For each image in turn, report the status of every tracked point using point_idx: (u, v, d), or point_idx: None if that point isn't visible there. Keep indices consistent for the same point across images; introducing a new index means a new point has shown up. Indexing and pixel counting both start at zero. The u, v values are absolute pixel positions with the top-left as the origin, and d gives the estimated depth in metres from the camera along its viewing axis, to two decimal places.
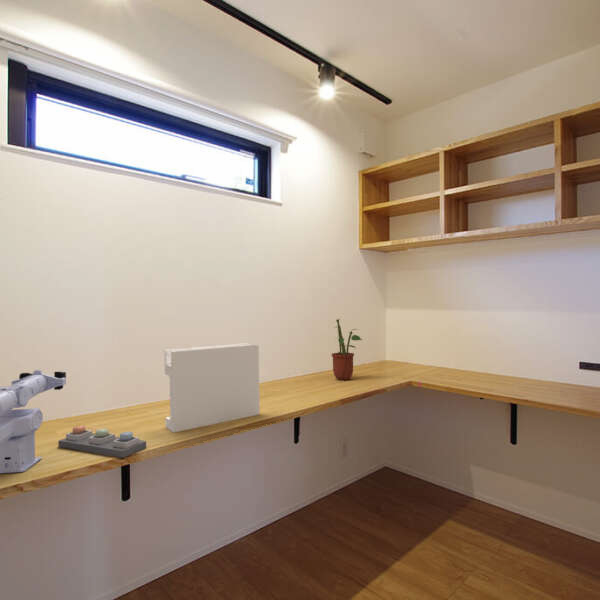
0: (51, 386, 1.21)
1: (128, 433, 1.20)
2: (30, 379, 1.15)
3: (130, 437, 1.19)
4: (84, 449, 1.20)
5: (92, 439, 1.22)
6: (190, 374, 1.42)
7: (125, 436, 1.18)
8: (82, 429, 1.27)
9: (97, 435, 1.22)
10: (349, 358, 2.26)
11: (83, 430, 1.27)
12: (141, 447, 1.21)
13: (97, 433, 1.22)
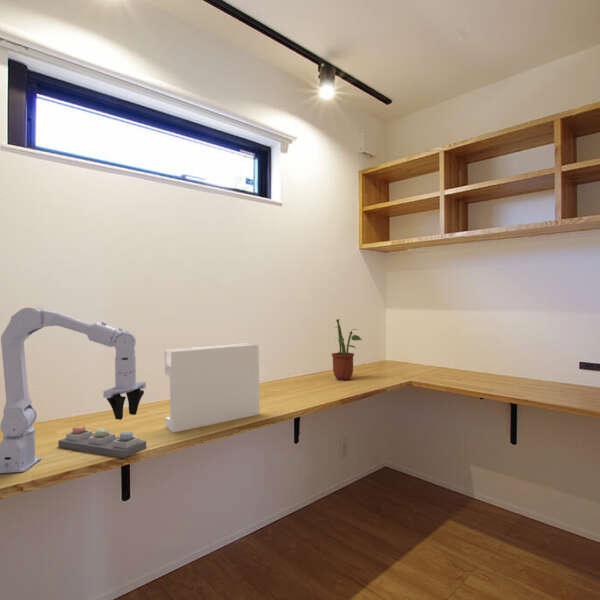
0: None
1: (128, 433, 1.20)
2: (134, 367, 1.20)
3: (130, 437, 1.19)
4: (84, 449, 1.20)
5: (92, 439, 1.22)
6: (190, 374, 1.42)
7: (125, 436, 1.18)
8: (82, 429, 1.27)
9: (97, 435, 1.22)
10: (349, 358, 2.26)
11: (83, 430, 1.27)
12: (141, 447, 1.21)
13: (97, 433, 1.22)
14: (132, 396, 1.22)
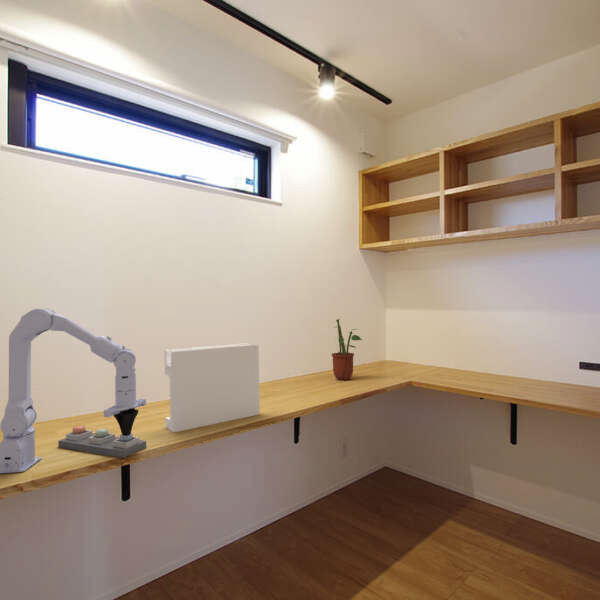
0: None
1: None
2: (135, 385, 1.20)
3: (130, 438, 1.19)
4: (84, 449, 1.20)
5: (92, 439, 1.22)
6: (190, 374, 1.42)
7: (125, 437, 1.18)
8: (82, 429, 1.27)
9: (97, 435, 1.22)
10: (349, 358, 2.26)
11: (83, 430, 1.27)
12: (141, 447, 1.21)
13: (97, 433, 1.22)
14: None
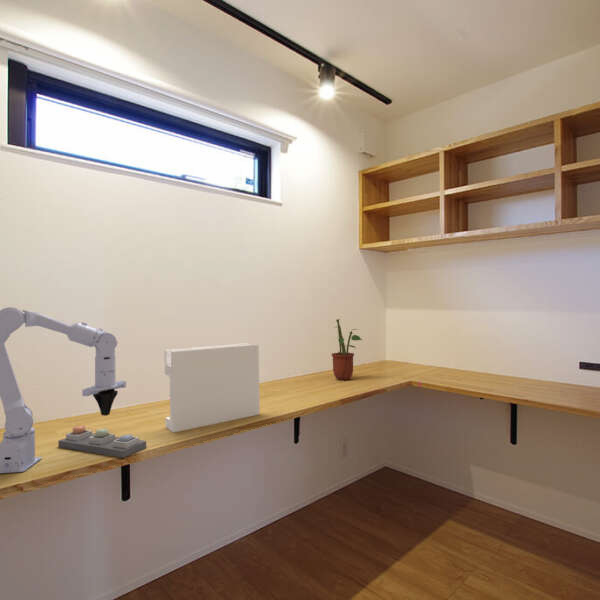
0: None
1: (128, 436, 1.20)
2: None
3: None
4: (84, 449, 1.20)
5: (92, 439, 1.22)
6: (190, 374, 1.42)
7: (125, 439, 1.18)
8: (82, 429, 1.27)
9: (97, 435, 1.22)
10: (349, 358, 2.26)
11: (83, 430, 1.27)
12: (141, 447, 1.21)
13: (97, 433, 1.22)
14: None
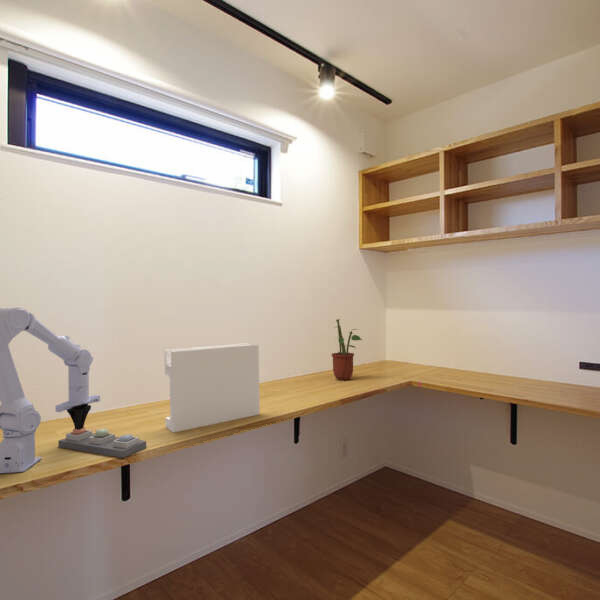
0: None
1: (128, 436, 1.20)
2: None
3: None
4: (84, 449, 1.20)
5: (92, 439, 1.22)
6: (190, 374, 1.42)
7: (125, 439, 1.18)
8: (82, 431, 1.27)
9: (97, 435, 1.22)
10: (349, 358, 2.26)
11: (83, 432, 1.27)
12: (141, 447, 1.21)
13: (97, 433, 1.22)
14: None
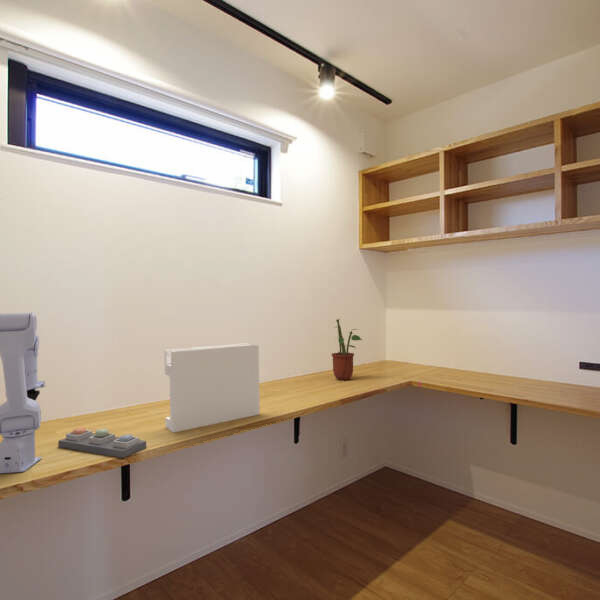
0: None
1: (128, 436, 1.20)
2: None
3: None
4: (84, 449, 1.20)
5: (92, 439, 1.22)
6: (190, 374, 1.42)
7: (125, 439, 1.18)
8: (82, 432, 1.27)
9: (97, 435, 1.22)
10: (349, 358, 2.26)
11: None
12: (141, 447, 1.21)
13: (97, 433, 1.22)
14: None
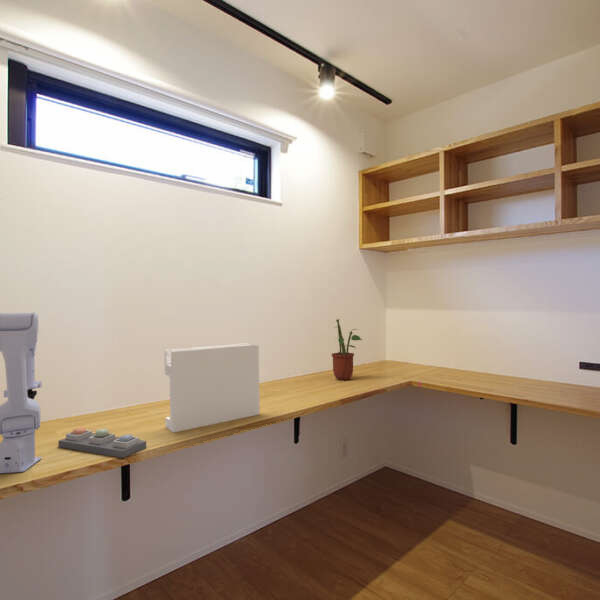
0: None
1: (128, 436, 1.20)
2: None
3: None
4: (84, 449, 1.20)
5: (92, 439, 1.22)
6: (190, 374, 1.42)
7: (125, 439, 1.18)
8: (82, 432, 1.27)
9: (97, 435, 1.22)
10: (349, 358, 2.26)
11: None
12: (141, 447, 1.21)
13: (97, 433, 1.22)
14: None
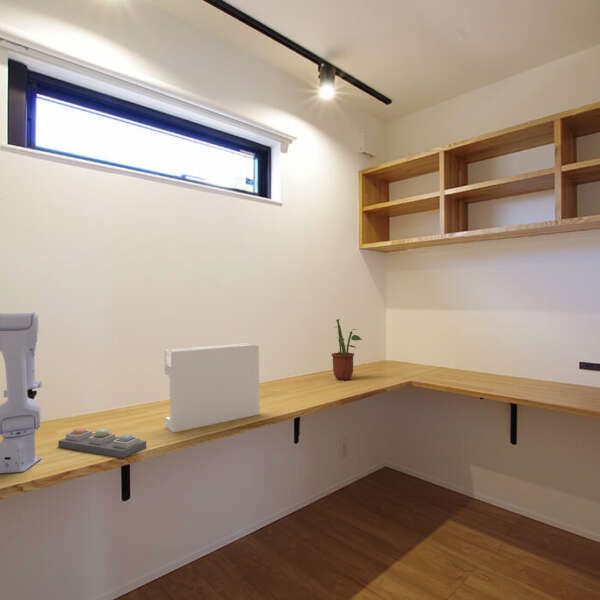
0: None
1: (128, 436, 1.20)
2: None
3: None
4: (84, 449, 1.20)
5: (92, 439, 1.22)
6: (190, 374, 1.42)
7: (125, 439, 1.18)
8: (82, 432, 1.27)
9: (97, 435, 1.22)
10: (349, 358, 2.26)
11: None
12: (141, 447, 1.21)
13: (97, 433, 1.22)
14: None
